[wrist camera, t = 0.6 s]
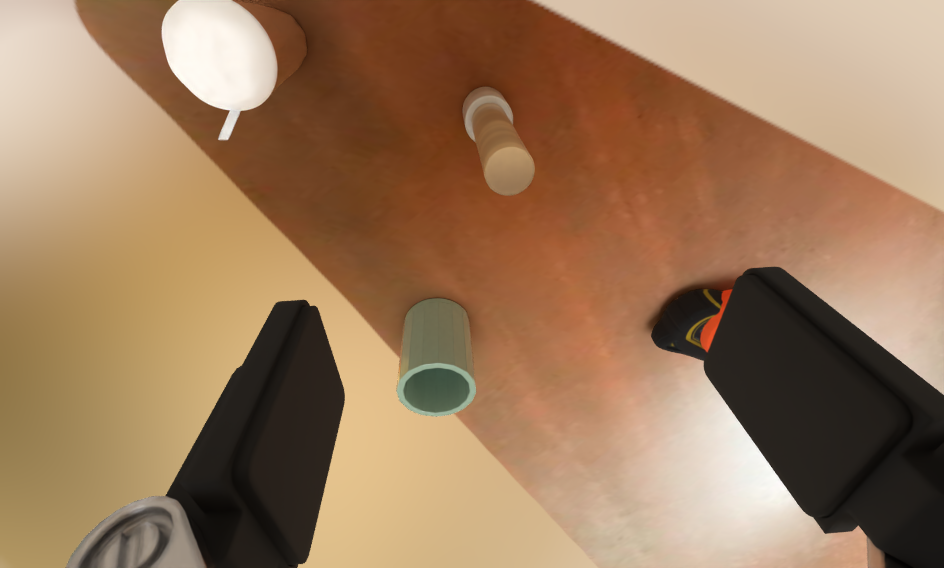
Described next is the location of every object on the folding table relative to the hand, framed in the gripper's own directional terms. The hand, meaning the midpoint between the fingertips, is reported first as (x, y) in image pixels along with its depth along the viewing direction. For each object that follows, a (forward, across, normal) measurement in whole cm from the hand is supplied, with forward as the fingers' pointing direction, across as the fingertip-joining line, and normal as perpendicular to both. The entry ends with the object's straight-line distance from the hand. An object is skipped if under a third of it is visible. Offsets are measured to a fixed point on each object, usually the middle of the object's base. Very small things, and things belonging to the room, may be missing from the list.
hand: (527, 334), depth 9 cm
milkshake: (+22, +11, -4) cm, 25 cm away
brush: (+22, -1, 0) cm, 22 cm away
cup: (+22, +4, +18) cm, 29 cm away
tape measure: (+22, -20, +20) cm, 36 cm away
